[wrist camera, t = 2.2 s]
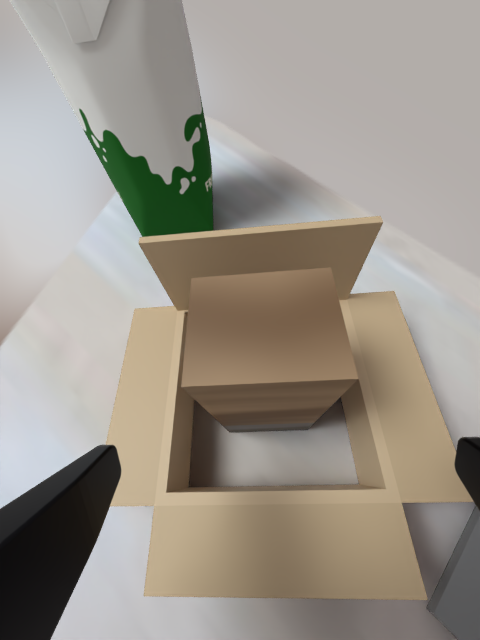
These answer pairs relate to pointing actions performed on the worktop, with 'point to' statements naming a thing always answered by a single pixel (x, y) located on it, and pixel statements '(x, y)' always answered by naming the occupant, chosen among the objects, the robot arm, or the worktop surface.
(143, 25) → the milk carton
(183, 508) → the cardboard carton
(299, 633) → the worktop surface
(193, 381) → the walnut box
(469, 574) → the slate coaster
